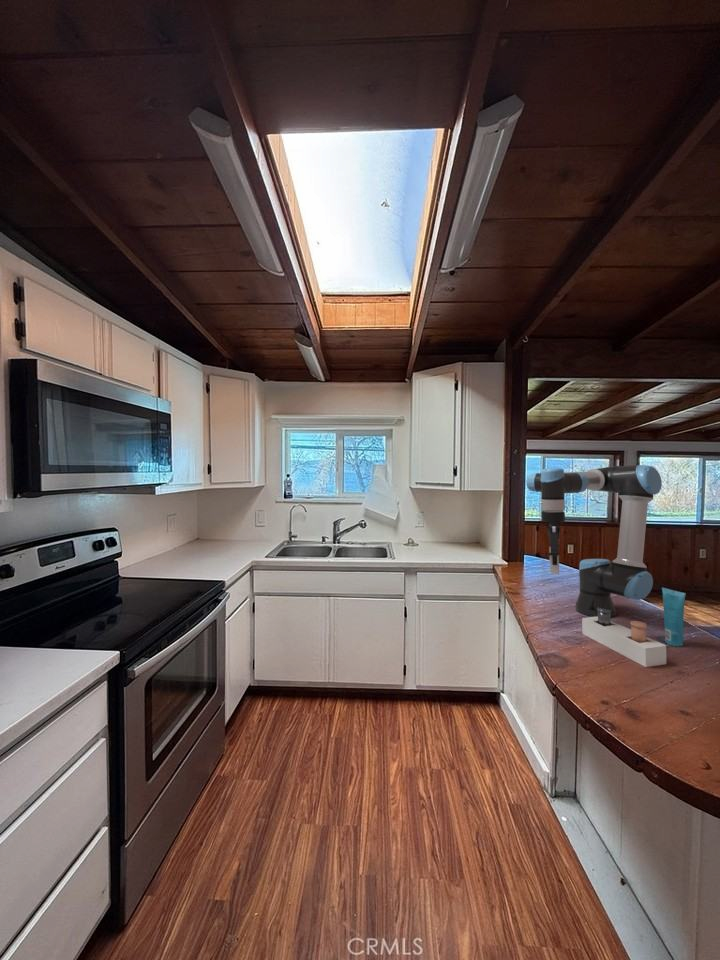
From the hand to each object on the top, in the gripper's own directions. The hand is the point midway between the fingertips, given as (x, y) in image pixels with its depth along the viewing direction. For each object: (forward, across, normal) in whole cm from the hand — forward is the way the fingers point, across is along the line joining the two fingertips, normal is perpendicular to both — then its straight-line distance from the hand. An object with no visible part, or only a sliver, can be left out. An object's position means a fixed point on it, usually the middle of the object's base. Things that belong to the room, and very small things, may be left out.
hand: (554, 569), depth 138 cm
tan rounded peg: (+23, +1, +25) cm, 34 cm away
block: (+27, -4, +20) cm, 34 cm away
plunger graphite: (+23, -10, +16) cm, 30 cm away
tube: (+28, -15, +38) cm, 49 cm away
